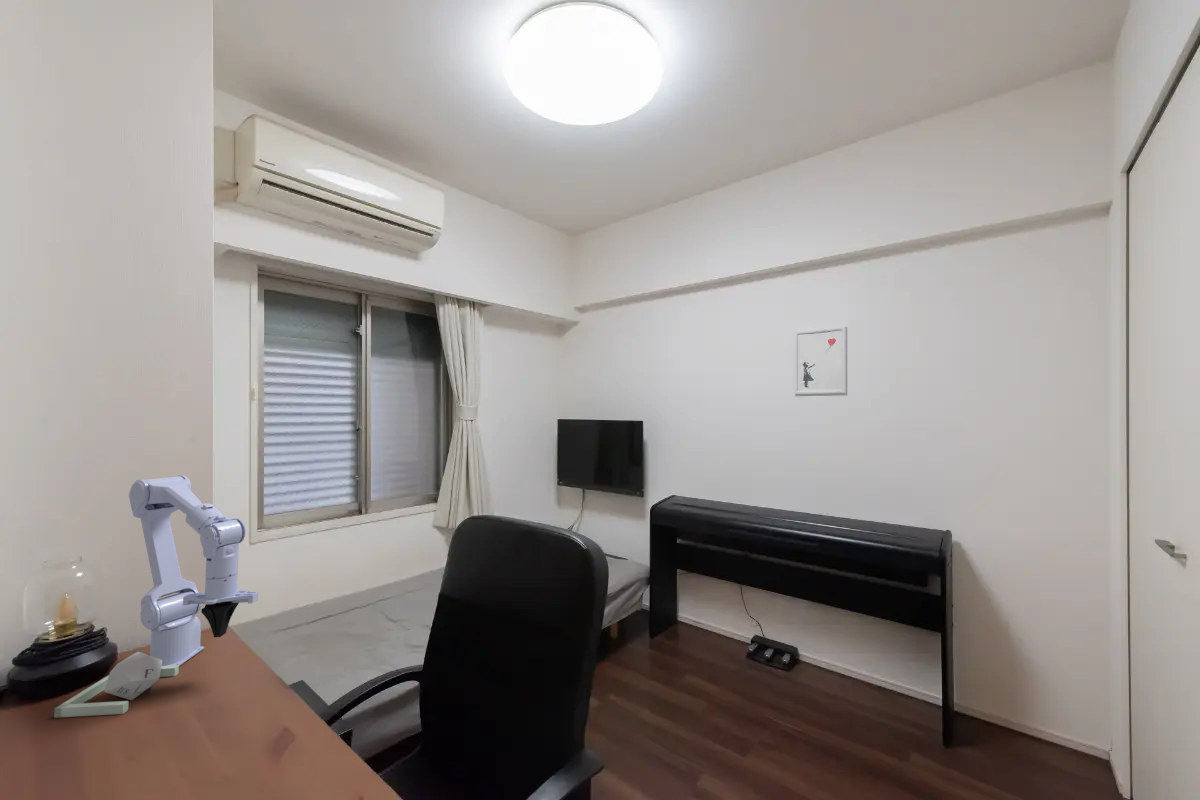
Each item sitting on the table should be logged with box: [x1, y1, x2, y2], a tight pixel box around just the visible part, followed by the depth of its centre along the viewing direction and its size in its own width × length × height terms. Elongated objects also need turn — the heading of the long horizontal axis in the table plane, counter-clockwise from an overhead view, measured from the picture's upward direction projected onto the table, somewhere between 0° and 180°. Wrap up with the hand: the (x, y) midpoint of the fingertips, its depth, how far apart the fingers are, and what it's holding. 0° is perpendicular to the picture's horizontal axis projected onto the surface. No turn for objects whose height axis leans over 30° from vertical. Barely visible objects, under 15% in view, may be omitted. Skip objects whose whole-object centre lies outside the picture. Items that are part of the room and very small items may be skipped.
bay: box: [53, 665, 180, 719], centre depth 100 cm, size 14×12×2 cm
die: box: [103, 651, 163, 701], centre depth 100 cm, size 8×9×10 cm
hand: (219, 635), depth 106 cm, fingers closed
